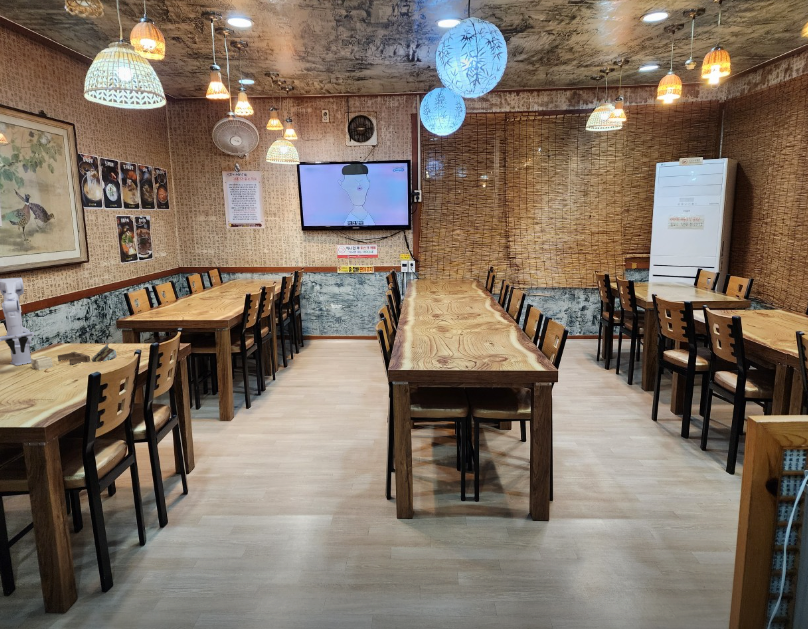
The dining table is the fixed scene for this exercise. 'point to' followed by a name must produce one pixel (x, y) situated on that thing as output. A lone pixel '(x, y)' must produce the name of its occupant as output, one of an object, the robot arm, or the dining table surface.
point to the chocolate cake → (105, 354)
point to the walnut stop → (74, 357)
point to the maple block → (41, 362)
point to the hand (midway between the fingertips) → (18, 353)
